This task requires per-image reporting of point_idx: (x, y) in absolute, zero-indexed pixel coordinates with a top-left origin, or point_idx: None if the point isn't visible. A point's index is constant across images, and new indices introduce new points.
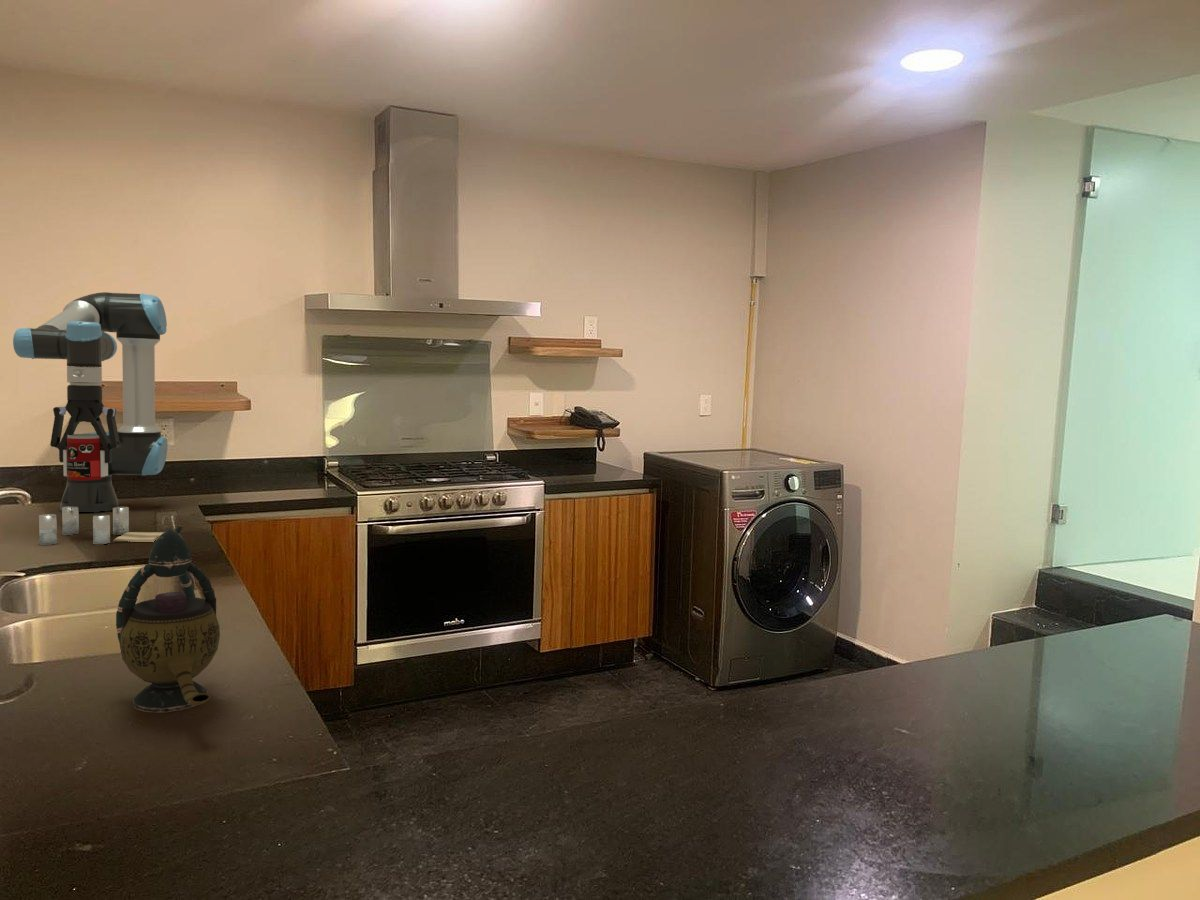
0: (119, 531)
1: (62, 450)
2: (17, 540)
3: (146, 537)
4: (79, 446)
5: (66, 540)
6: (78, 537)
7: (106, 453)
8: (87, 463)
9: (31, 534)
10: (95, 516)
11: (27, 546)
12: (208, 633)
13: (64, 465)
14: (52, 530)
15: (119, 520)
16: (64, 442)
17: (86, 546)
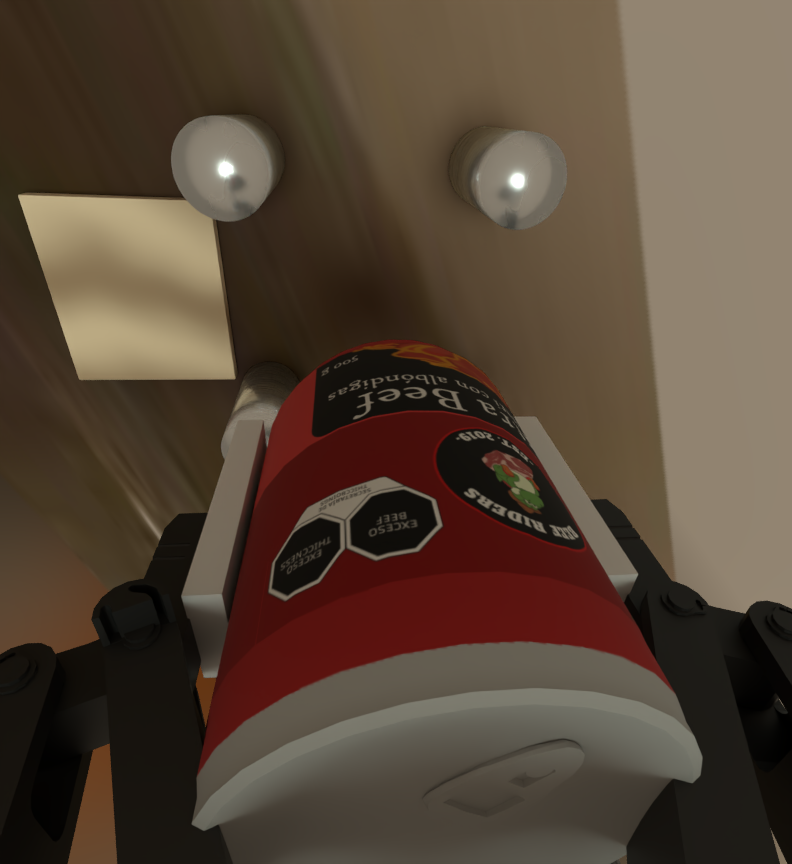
0: (262, 369)
1: (642, 586)
2: (615, 258)
3: (82, 251)
4: (438, 532)
5: (432, 257)
6: (407, 325)
7: (175, 590)
8: (336, 418)
9: (586, 382)
10: (240, 134)
11: (554, 100)
12: None
13: (559, 465)
14: (473, 145)
15: (256, 392)
16: (673, 661)
17: (292, 89)
